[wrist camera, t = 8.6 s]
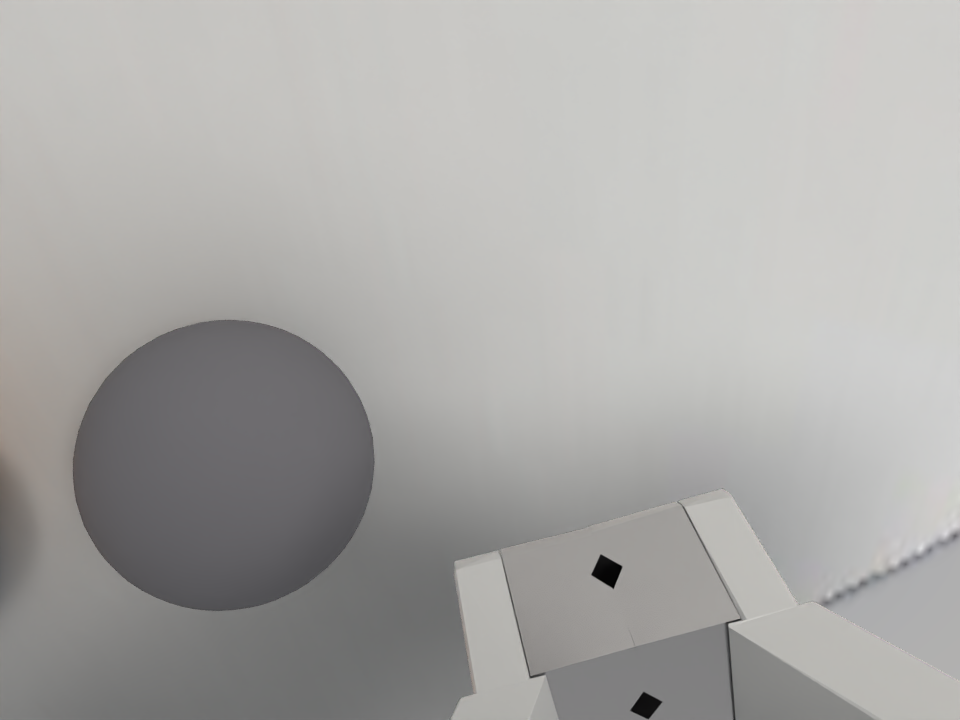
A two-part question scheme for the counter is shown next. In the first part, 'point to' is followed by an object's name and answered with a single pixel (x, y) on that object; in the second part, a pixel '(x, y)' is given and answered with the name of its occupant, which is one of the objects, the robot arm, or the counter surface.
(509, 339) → the counter surface
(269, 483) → the gray ball
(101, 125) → the counter surface
